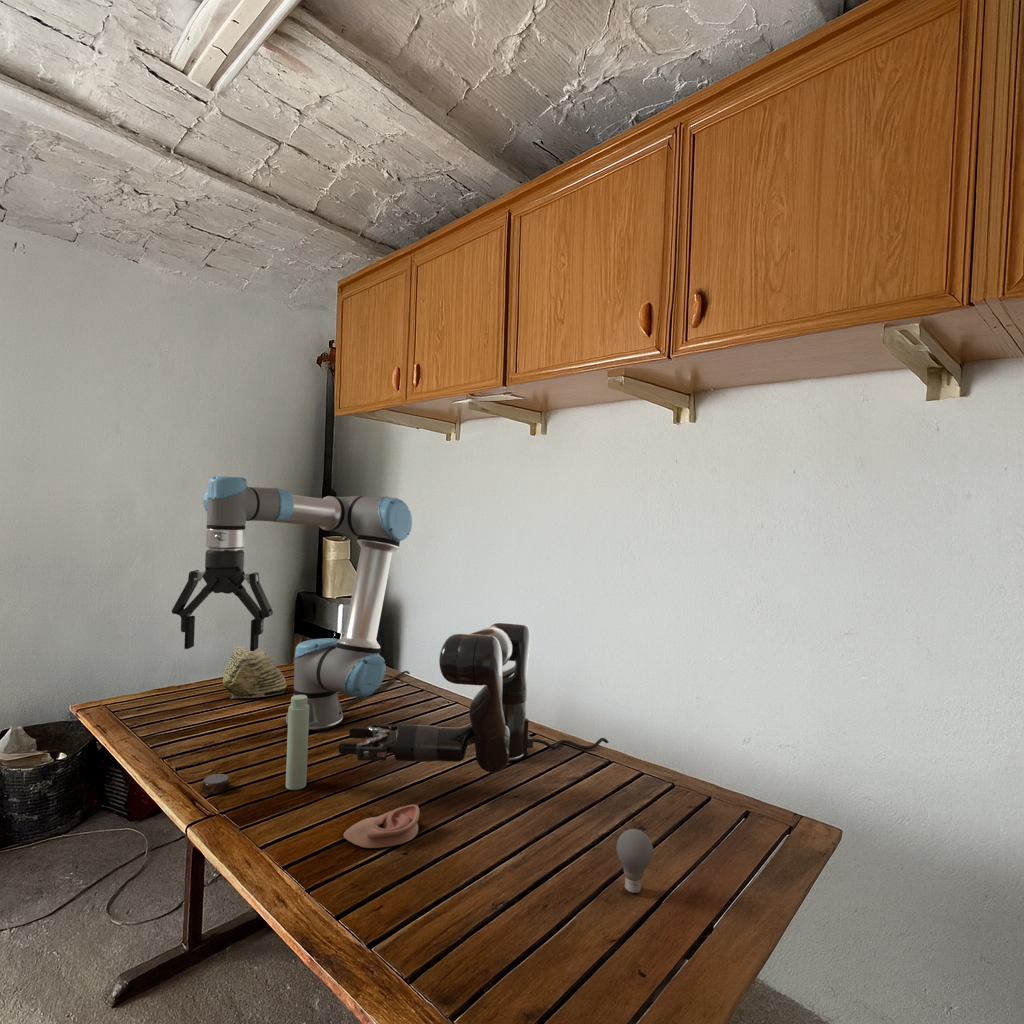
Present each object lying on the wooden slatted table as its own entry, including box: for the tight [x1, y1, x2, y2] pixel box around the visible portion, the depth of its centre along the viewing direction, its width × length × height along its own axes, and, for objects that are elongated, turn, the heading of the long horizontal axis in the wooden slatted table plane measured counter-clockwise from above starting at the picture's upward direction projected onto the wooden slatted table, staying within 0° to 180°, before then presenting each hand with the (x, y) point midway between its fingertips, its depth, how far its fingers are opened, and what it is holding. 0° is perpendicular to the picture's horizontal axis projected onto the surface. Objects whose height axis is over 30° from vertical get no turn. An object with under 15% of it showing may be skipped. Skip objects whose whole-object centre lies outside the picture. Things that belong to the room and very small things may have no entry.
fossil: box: [222, 646, 288, 699], centre depth 198 cm, size 9×18×15 cm, turn 132°
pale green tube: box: [285, 695, 309, 791], centre depth 138 cm, size 4×4×20 cm
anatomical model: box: [342, 804, 421, 849], centre depth 120 cm, size 13×4×12 cm
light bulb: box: [615, 828, 654, 894], centre depth 106 cm, size 6×6×10 cm
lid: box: [202, 773, 229, 795], centre depth 135 cm, size 5×5×2 cm
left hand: (221, 648), depth 135 cm, fingers open, 13 cm apart
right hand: (344, 740), depth 139 cm, fingers open, 8 cm apart
